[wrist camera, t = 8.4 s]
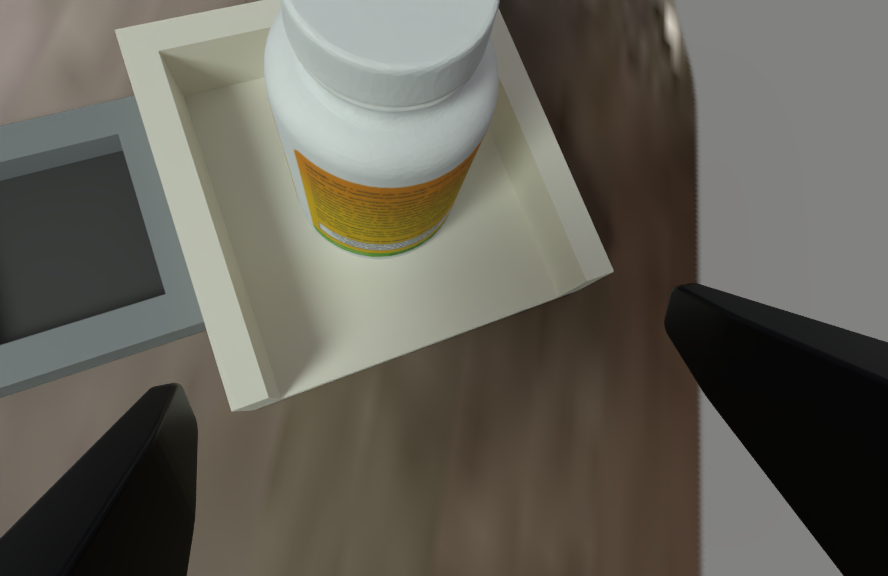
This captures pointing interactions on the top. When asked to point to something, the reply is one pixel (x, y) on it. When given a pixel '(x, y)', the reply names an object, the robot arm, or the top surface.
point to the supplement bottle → (380, 113)
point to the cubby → (310, 256)
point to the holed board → (85, 246)
